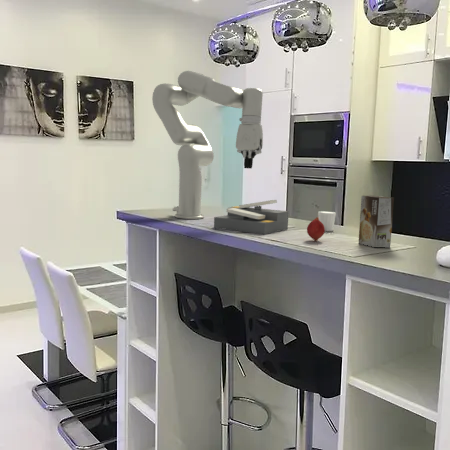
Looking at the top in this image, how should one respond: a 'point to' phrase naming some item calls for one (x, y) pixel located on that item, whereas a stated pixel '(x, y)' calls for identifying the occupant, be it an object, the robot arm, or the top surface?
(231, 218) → the switch console
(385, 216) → the coffee box
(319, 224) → the onion
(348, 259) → the top surface
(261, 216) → the bar
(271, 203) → the rear rocker
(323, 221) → the white cup
